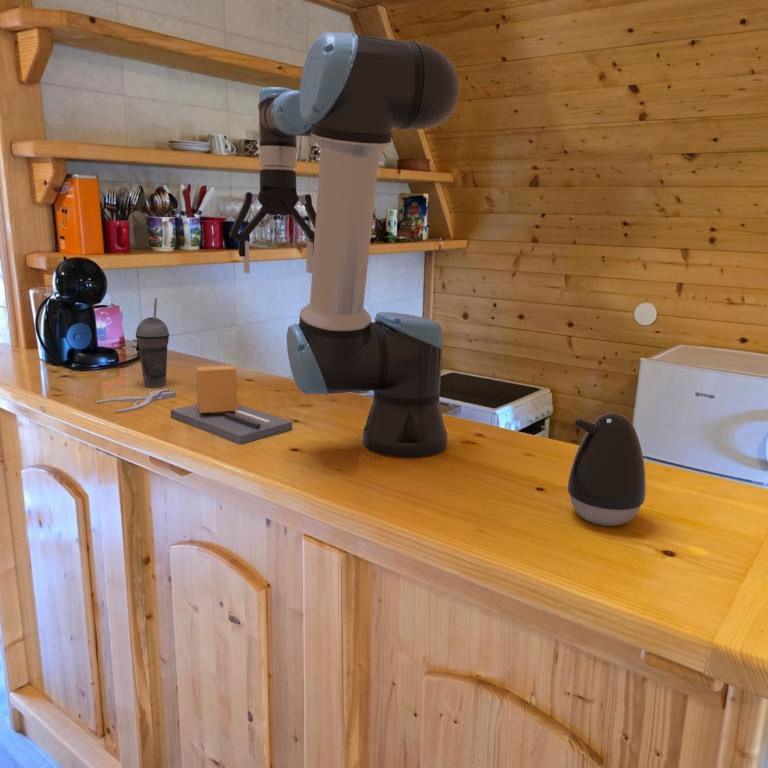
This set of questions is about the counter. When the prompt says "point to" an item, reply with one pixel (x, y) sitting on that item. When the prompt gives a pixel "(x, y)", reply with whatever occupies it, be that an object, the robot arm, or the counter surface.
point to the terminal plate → (233, 423)
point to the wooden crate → (216, 389)
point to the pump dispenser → (608, 471)
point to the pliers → (147, 400)
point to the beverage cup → (153, 349)
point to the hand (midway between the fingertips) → (278, 272)
